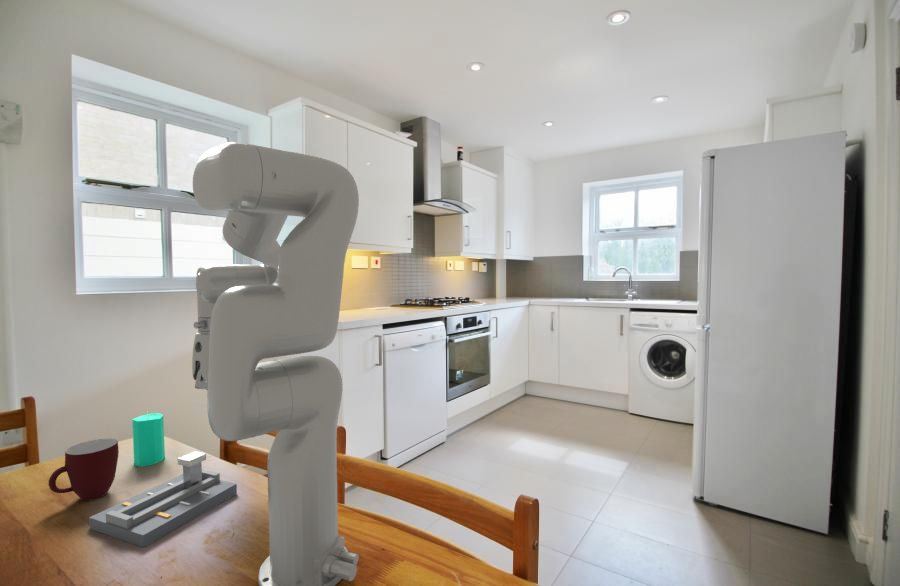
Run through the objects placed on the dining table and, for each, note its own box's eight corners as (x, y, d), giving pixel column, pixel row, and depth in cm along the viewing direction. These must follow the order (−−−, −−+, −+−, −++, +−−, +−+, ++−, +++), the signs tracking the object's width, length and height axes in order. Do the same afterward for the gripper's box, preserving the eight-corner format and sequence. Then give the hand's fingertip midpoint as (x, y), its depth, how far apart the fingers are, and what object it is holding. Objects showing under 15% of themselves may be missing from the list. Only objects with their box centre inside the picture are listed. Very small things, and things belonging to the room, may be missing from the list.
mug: (62, 517, 77) (59, 463, 77) (42, 506, 81) (40, 454, 81) (128, 491, 87) (126, 442, 86) (108, 482, 90) (106, 435, 90)
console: (236, 493, 85) (236, 476, 85) (143, 547, 69) (142, 526, 69) (187, 481, 91) (186, 465, 90) (89, 528, 74) (88, 508, 74)
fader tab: (207, 482, 85) (206, 453, 85) (190, 491, 82) (189, 460, 82) (195, 479, 86) (194, 451, 86) (178, 488, 83) (177, 458, 83)
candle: (140, 468, 97) (138, 416, 96) (129, 462, 100) (127, 411, 100) (169, 459, 102) (167, 409, 101) (158, 453, 105) (156, 405, 105)
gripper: (198, 330, 81) (201, 425, 82) (260, 321, 95) (262, 402, 96) (171, 328, 84) (174, 420, 85) (235, 319, 98) (237, 398, 99)
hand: (220, 410), depth 90 cm, fingers closed
